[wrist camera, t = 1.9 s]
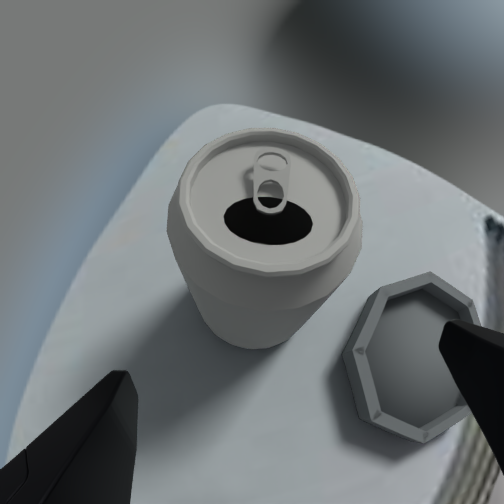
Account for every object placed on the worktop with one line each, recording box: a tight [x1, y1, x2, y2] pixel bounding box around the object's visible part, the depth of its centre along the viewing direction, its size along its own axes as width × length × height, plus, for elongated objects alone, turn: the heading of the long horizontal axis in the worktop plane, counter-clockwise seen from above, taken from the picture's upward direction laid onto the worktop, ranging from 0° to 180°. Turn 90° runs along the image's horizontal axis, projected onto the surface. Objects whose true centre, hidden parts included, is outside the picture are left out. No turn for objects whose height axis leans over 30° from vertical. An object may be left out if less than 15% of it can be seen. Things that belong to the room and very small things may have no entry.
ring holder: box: [342, 272, 481, 443], centre depth 18 cm, size 12×12×2 cm
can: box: [167, 128, 363, 349], centre depth 15 cm, size 8×8×12 cm
